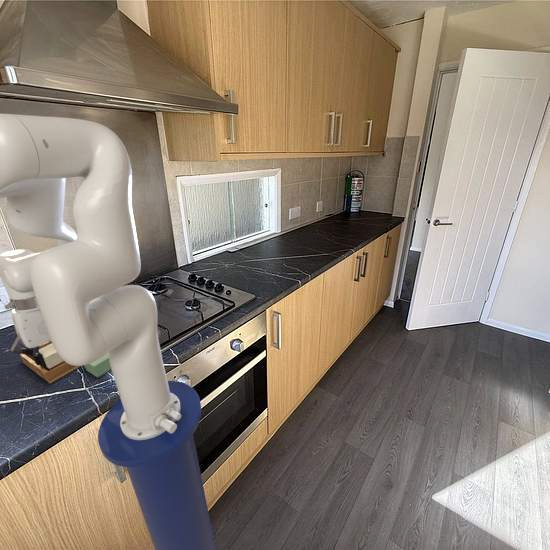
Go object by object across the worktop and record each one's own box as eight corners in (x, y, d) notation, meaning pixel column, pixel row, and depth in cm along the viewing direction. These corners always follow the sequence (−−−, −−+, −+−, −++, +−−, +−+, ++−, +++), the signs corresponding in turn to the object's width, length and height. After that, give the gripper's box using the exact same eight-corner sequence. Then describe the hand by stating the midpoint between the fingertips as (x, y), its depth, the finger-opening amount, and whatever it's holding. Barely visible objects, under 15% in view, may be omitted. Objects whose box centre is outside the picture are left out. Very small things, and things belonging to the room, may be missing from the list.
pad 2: (117, 365, 81) (114, 354, 80) (97, 377, 77) (93, 366, 76) (105, 358, 84) (102, 348, 83) (86, 370, 80) (82, 359, 78)
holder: (83, 364, 82) (80, 355, 81) (50, 383, 76) (46, 374, 74) (55, 347, 90) (52, 338, 89) (23, 363, 83) (19, 354, 82)
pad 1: (71, 357, 80) (67, 346, 79) (49, 369, 76) (44, 357, 75) (62, 350, 83) (57, 340, 82) (39, 362, 79) (35, 351, 77)
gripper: (-7, 319, 64) (24, 383, 71) (76, 289, 77) (94, 345, 84) (-19, 311, 68) (11, 373, 75) (62, 283, 81) (81, 338, 88)
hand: (55, 358), depth 79 cm, fingers closed on pad 1, 5 cm apart
